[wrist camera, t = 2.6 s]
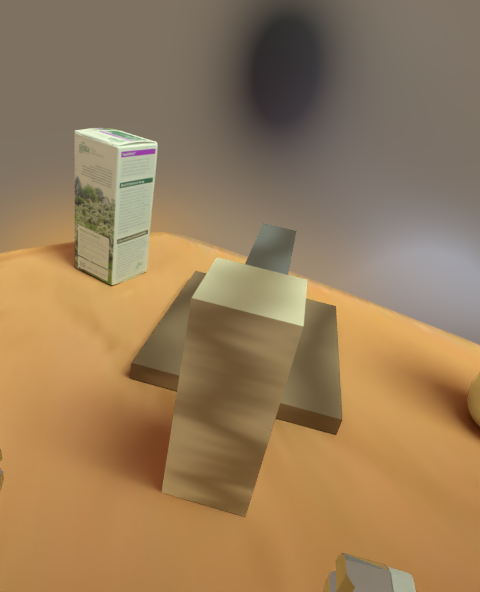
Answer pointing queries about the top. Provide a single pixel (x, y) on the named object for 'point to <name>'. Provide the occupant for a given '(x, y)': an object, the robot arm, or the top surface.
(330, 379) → the ridge
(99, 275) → the syrup box
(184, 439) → the ash post
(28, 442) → the top surface
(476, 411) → the plastic bottle
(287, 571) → the top surface
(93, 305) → the top surface
